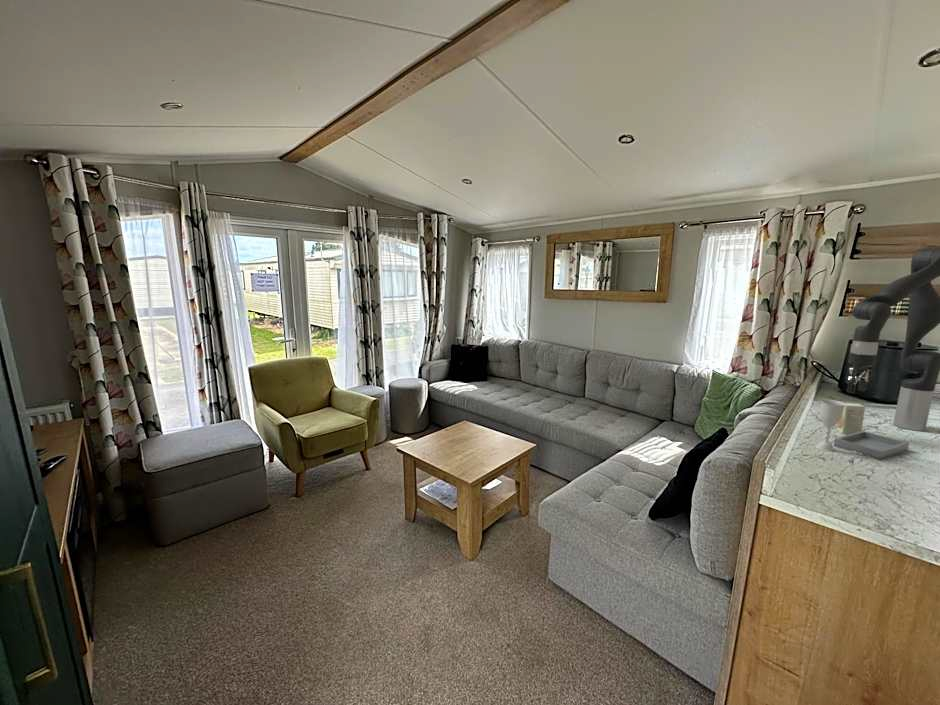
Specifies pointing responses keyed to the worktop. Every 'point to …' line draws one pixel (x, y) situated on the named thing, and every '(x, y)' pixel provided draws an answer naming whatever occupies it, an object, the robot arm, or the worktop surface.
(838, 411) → the chalice
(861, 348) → the robot arm
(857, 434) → the tray
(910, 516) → the worktop surface
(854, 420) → the skincare box
